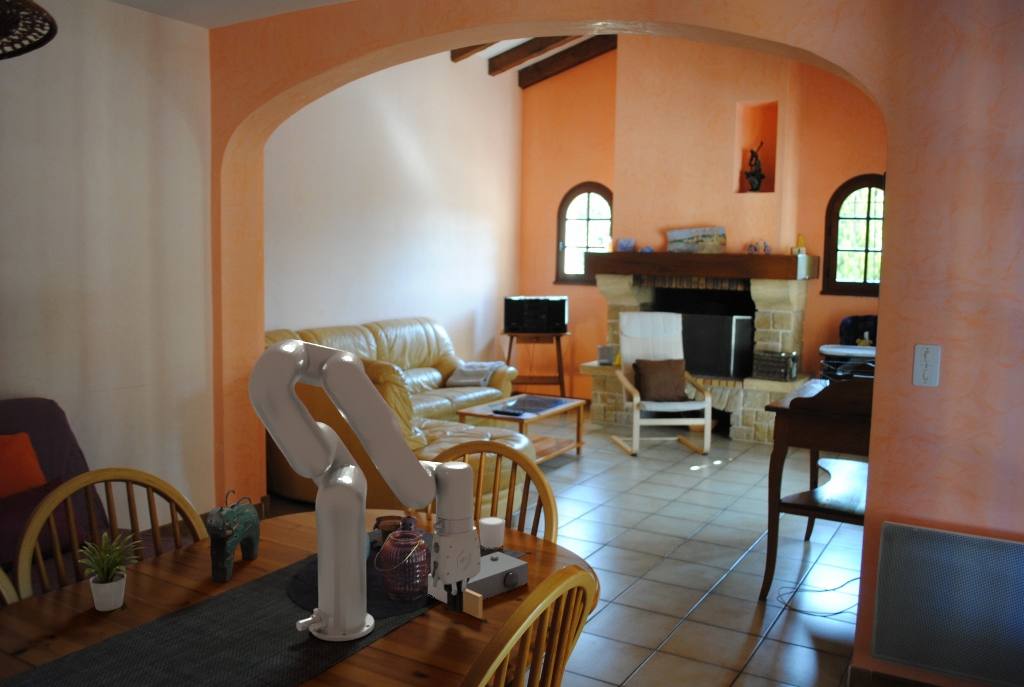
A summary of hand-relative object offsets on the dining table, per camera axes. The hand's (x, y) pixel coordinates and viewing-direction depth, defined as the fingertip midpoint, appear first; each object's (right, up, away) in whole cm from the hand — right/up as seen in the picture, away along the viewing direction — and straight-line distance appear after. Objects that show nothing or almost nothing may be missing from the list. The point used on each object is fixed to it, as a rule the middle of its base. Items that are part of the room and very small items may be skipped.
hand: (455, 610), depth 175 cm
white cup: (+6, +2, +46) cm, 47 cm away
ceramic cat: (-55, +1, +29) cm, 62 cm away
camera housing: (+5, -1, +18) cm, 19 cm away
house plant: (-74, -2, +6) cm, 74 cm away
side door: (-1, -2, +8) cm, 8 cm away
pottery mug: (-19, +2, +49) cm, 53 cm away
